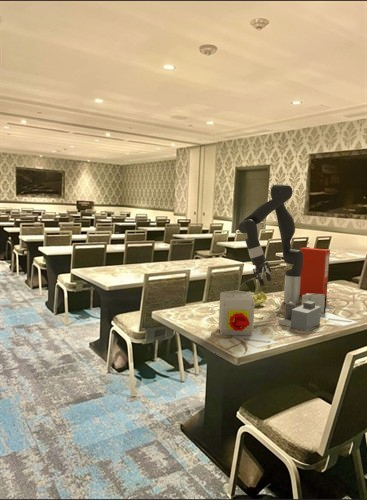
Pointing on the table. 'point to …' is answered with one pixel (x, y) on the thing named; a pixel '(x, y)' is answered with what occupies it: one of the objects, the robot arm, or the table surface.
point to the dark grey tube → (289, 310)
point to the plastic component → (259, 298)
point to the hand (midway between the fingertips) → (266, 283)
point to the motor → (303, 316)
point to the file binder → (314, 271)
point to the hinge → (316, 300)
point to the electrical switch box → (236, 313)
